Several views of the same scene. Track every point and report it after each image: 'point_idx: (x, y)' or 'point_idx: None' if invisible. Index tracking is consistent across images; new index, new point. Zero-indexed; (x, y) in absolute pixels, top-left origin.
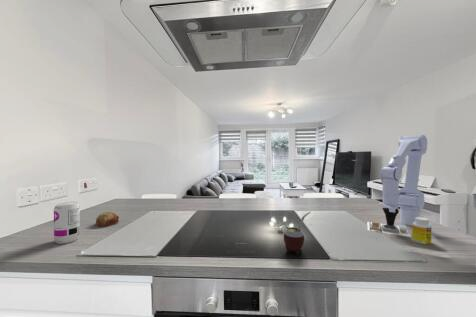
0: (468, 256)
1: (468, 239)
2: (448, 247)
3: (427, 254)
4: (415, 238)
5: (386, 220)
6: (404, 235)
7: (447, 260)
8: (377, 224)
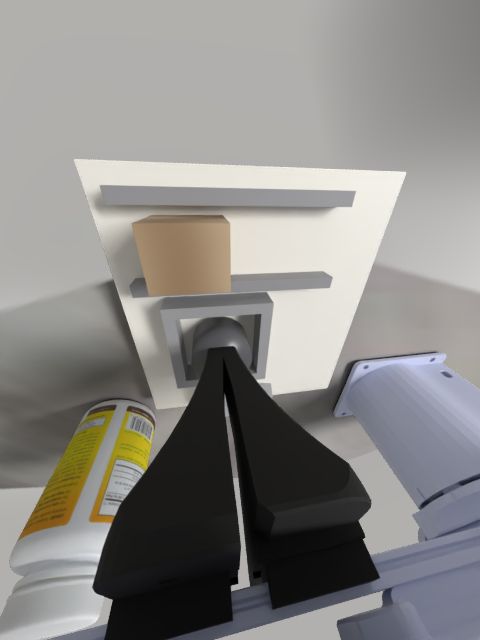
0: None
1: None
2: None
3: (6, 431)
4: (73, 439)
5: (204, 371)
6: (157, 390)
7: (8, 462)
8: (148, 276)
